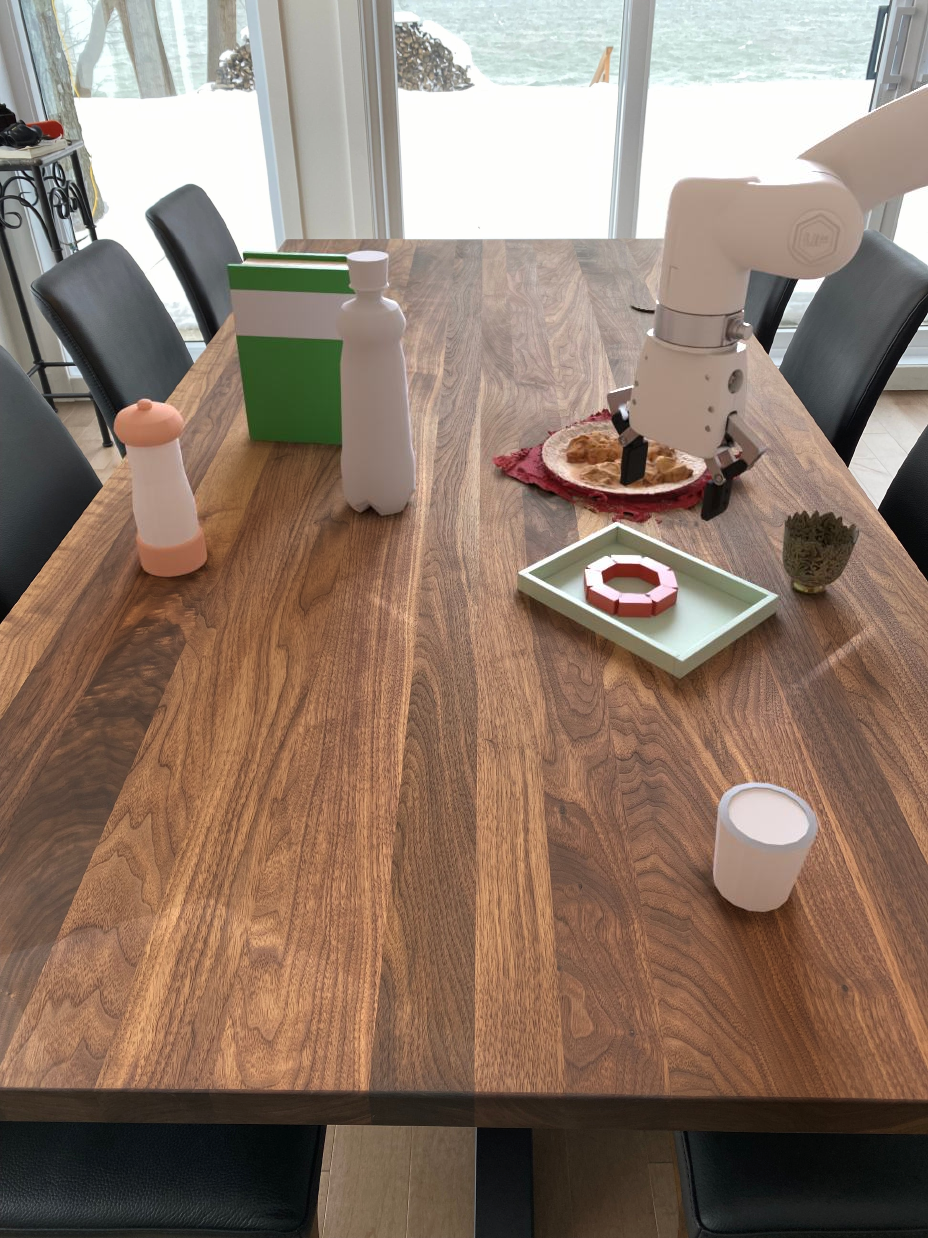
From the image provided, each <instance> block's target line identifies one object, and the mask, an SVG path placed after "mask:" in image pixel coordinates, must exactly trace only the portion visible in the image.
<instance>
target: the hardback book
mask: <svg viewBox="0 0 928 1238" xmlns="http://www.w3.org/2000/svg"><path fill="white" fill-rule="evenodd" d="M347 255H348V254H341V253H339V254H338V253H315V252H314V253H312V252H311V253H309V252H286V251H285V252H284V251H281V252H280V251H259V250H258V251H257V250H256V251H254V250H244V251H243V252H242V261H243V262H241V263H228V264H227V265H226V269H227V276H228V277H227V278H228V285H229V292H230V299H231V300H230V301H231V305H232V306H231V307H232V308H231V309H232V316H233V322H234V329H235V337H236V346H237V353H238V362H239V369H240V376H241V383H242V393H243V398H244V399H243V400H244V407H245V414H246V415H245V416H246V422H247V429H248V439H249V441H261V442H262V441H266V442H283V443H284V442H285V443H300V444H301V443H302V444H318V445H319V444H323V445H335V446H337V445H338V446H342V412H341V369H340V362H341V355H342V348H343V340H342V339H341V337H340V336H339V334H338V331H337V327H336V324H335V322H336V319H337V317H338V314H339V312H340V309H341V307H342V305H343V303H345V302H347V301H350V300H352V299H354V298H356V297H357V295H356V293H355V292H354V290H353V289H351V288H350V287H349V284H350V283H351V282H350V276H349V270H348V264H347V258H346V256H347Z"/></svg>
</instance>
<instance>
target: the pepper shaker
mask: <svg viewBox="0 0 928 1238" xmlns="http://www.w3.org/2000/svg"><path fill="white" fill-rule="evenodd" d="M183 428H184V419H183V417H182V414H181V413H180V412H179V410H177V408H175V407H174V406H173V405H171V404H168V403H164V402H159V401H152V400H151V399H148V398H142V399H140V400H138V401H137V403H134V404H133V403H132V404H131V405H129V406H127V407H124V408H123V409H121V410H120V411H119V412H118V413H117V414H116V417H115V418H114V422H113V432H114V434H115V436H116V437H117V439H118V440H119V441H120V442H121V444H124V446H125V453H126V456H127V461H128V466H129V472H130V476H131V496H132V500H131V501H132V513H133V517H134V521H135V525H136V529H137V534H136V540H135V542H136V546H137V551H138V556H139V561H140V566H141V567H142V569H143V571H144V572H146V573H147V574H149V575H153V576H156V577H166V578H170V577H179V576H180V577H181V576H183V575H187V574H190V573H193V572H195V571H196V570H198V569H200V568H201V567H203V566H204V565H205V563H206V561H207V559H208V551H207V547H206V540H205V535H204V529H203V528H202V526H201V525H200V523H199V519H198V513H197V512H198V511H197V503H196V500H195V496H194V494H193V491H192V488H191V485H190V482H189V479H188V477H187V474H186V471H185V467H184V461H183V456H182V451H181V446H180V440H179V437H180V436H181V435H182V434H183V433H182V432H183Z"/></svg>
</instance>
